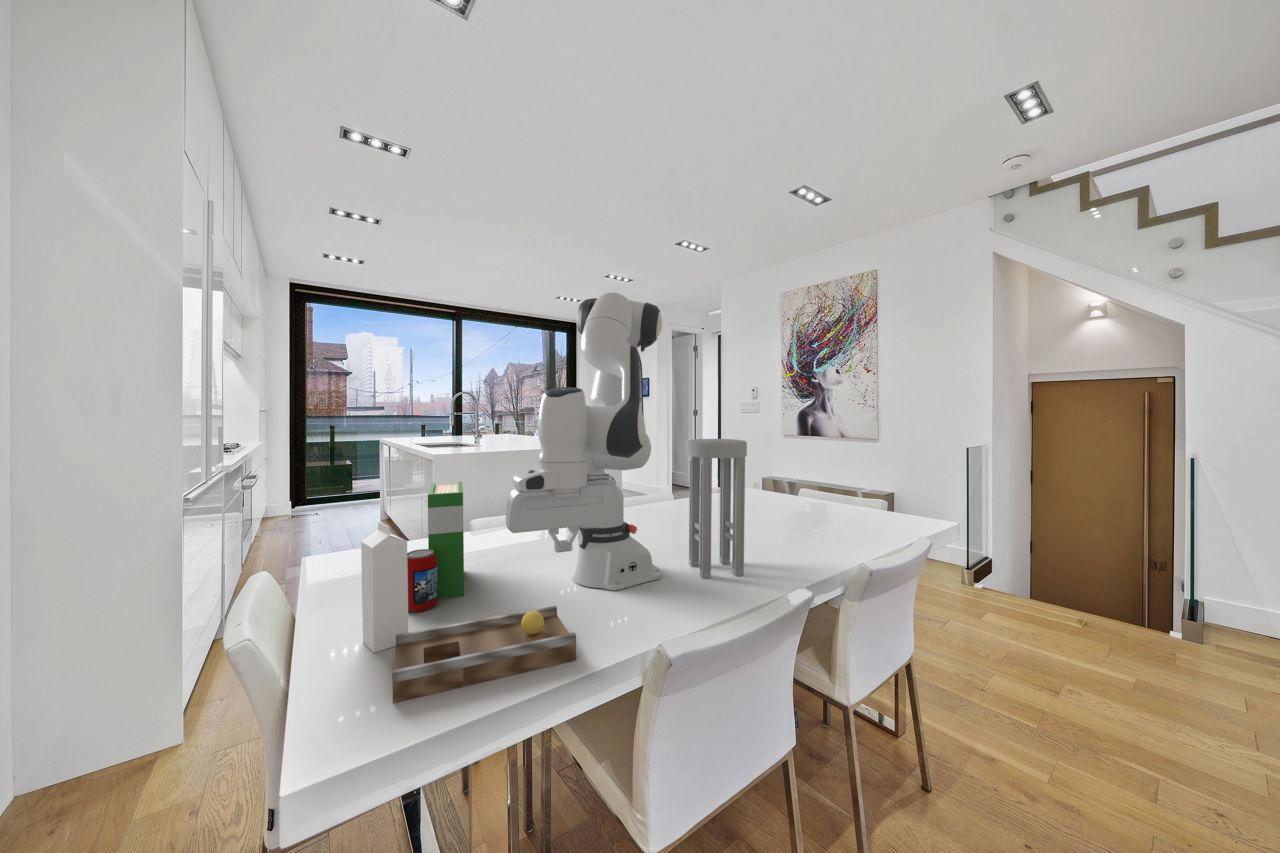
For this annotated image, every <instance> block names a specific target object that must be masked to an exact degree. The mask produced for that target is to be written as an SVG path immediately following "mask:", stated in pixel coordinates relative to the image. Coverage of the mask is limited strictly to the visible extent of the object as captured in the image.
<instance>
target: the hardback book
mask: <svg viewBox="0 0 1280 853" xmlns="http://www.w3.org/2000/svg"><path fill="white" fill-rule="evenodd" d="M427 532H428V534H427V536H428V546H427V547H428V548H427V549H430V550H433V551H434V554H435V556H436V557H437V579H438V600H441V599H448V598H449V599H450V598H456V597H464V596H465V562H464V560H465V559H464V558H465V557H464V556H465V555H464V553H465V552H464V551H465V550H464V546H465V545H464V541H465V540H464V536H465V535H464V488H463V481H458V482H457V484H442V485H436V482H431V483H430V486H429V489H428V492H427Z"/></svg>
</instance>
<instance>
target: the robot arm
mask: <svg viewBox="0 0 1280 853" xmlns="http://www.w3.org/2000/svg"><path fill="white" fill-rule="evenodd" d="M575 322H576V326H577V327H576V328H577V331H578V333H579V334H580V335H581V336H580V351H581V353H582V356H583V357H584V359H585V360H586V362H587V363H588V364H589V365H591V367H593V368H595V370H594V374H593V380H592V384H591V389H590V393H589V402H590V405H587V403H586V396H585V393H584V390H583V389H582V388H580V387H579V388H578V387H576V386H575V387H572V386H567V387H566V386H565V387H564V386H563V387H555V388H550V389H547V390H546V391H544V392H543V393H542V396H541V400H540V406H539V413H538V439H539V440H538V441H539V443H540V452H539V456H538V466H535V467H533V468H530V469H528V470H527V469H526V470H525V471H522V472H519V473H517V474H514V475H513V476H512V485H513V486H514V488H512V490H511V491H510V492H509V495H508V497H507V498H508V499H507V504H506V510H505V512H506V513H505V526H506V528H507V529H508V530H509V532H511V533H513V534H520V533H529V532H538V531H540V532H541V531H547V532H548V534H549V536H550V537H551V539H552V541H553V542H554V548H553V549H554V552H555V553H556V554H557V553H558V554H559V553H567V552H573V542H574V541H575V539H576V538H577V542H578V548H579V549H578V556H577V557H578V558H577V564H576V566H575V571H574V576H573V580H574V582H575V583H577V584H579V585H581V586H583V587H588V588H594V589H595V588H596V589H597V588H598V589H605V590H609V591H618V590H622V589H626V588H630V587H634V586H637V585H641V584H644V583H648V582H652V581H655V580H656V581H657V580H659V579H662V571H661V569H660V568H659V567H658V566H656V565H655V564H653V559H652V554H651V552H650V551H649V549H648V548H647V547H646V546H644V545H643V544H642V543H640V542H639V541H637V540H636V539H635V538H634V537H632V536H631V534H633V535H635V534H637V532H638V527H637V526H636V525H634V524H630V523H628V522H625V521H624V514H625V513H624V507H625V506H624V502H625V501H624V500H625V499H624V494H623V492H622V490H621V488H620V487H618V486H617V481H616V479H615V478H614V477H613V476H612V475H610V474H609V473H606V472H605V470H611V471H612V470H614V471H629V470H635V469H641V468H643V467H644V466H645V465H646V464H647V463H648V461H649V459H650V457H651V455H652V454H651V453H652V444H651V440H650V437H649V436H648V434H647V432H646V423H645V422H646V421H645V417H644V382H643V381H644V379H643V378H644V377H643V364H642V360H641V359H642V358H641V356H640V355H641V354H640V352H641V353H642V352H645V350H646V348H648V347H651V346H652V345H653V344H654V343H656V341H658V340H657V339H658V337H659V336H660V334H661V332H662V328H663V318H662V315H661V310H660V308H659V307H658V306H657V305H656V304H652V303H650V302H645V303H644V302H640V301H636V300H630V299H628V298H627V297H626V296H625V295H624V294H621V293H618V292H606V293H604V294H602V295H600V296H599V297H598V298H596V297H595V298H594V297H592V298H587V299H585V300H583V301H582V302H581V303H580V304H579V306H578V310H577V313H576V321H575ZM638 348H640V352H639V350H638ZM560 529H567V531H569V534H568V535H567V537H566V539H562V540H559V538H558V537H557V535H559V534H560V531H559V530H560Z"/></svg>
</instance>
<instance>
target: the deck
mask: <svg viewBox="0 0 1280 853" xmlns="http://www.w3.org/2000/svg"><path fill="white" fill-rule="evenodd" d="M530 611H538V612H539V613H541V614H542V616H543V618H544V626H543V628H542V630H541V631H540V632H539V633H537V634H535V635H529V634H526V633H525V632H524V631H523V629H522V627H521V621H522V618H523V616H524V615H525V614H526V613H528V612H530ZM393 661H394V663H393V670H392V672H391V673H392V674H391V676H392V677H391V678H392V680H391V683H392V704H395V703H398V702H399V703H400V702H404V701H408V700H413V699H415V698H416V699H417V698H420V697H424V696H427V695H428V696H429V695H432V694H437V693H442V692H446V691H451V690H454V689H458V688H463V687H467V686H471V685H475V684H481V683H484V682H488V681H492V680H497V679H501V678H506V677H510V676H514V675H517V674H523V673H527V672H531V671H535V670H539V669H544V668H548V667H553V666H557V665H561V664H565V663H569V662H574V661H577V634H576V632H575V631H574V632H569V631H568V629H567V627H566V626H565V625H564V623H563V621H562V620H561V619H560V617H559V616H558V607H557V605H553V606H547V607H542V608H535V609H532V610H531V609H529V610H524V611H519V612H515V613H508V614H501V615H497V616H491V617H486V618H480V619H475V620H469V621H463V622H458V623H453V624H447V625H441V626H436V627H435V626H434V627H432V628H431V627H430V628H425V629H420V630H413V631H408V632H407V633H401V634H396V646H395V652H394V660H393Z"/></svg>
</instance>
